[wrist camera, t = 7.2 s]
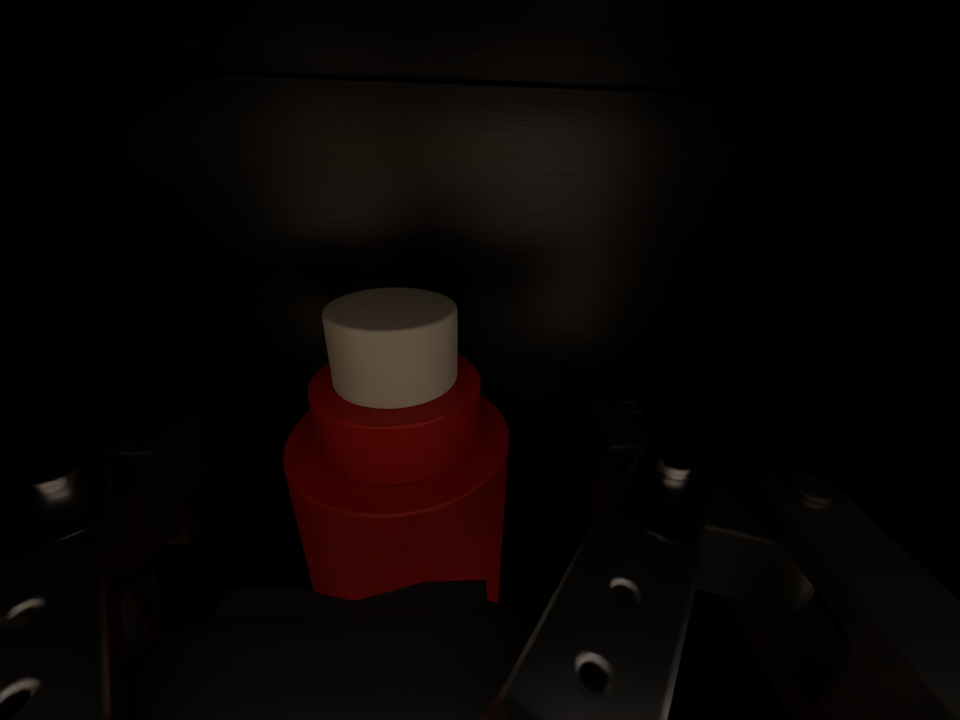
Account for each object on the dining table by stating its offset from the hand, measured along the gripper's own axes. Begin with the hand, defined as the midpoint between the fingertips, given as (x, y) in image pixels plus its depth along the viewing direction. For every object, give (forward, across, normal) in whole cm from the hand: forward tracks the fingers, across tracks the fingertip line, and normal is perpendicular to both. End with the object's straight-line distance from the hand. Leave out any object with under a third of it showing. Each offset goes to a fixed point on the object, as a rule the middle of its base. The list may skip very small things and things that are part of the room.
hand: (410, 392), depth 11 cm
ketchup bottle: (-2, 0, +7) cm, 7 cm away
